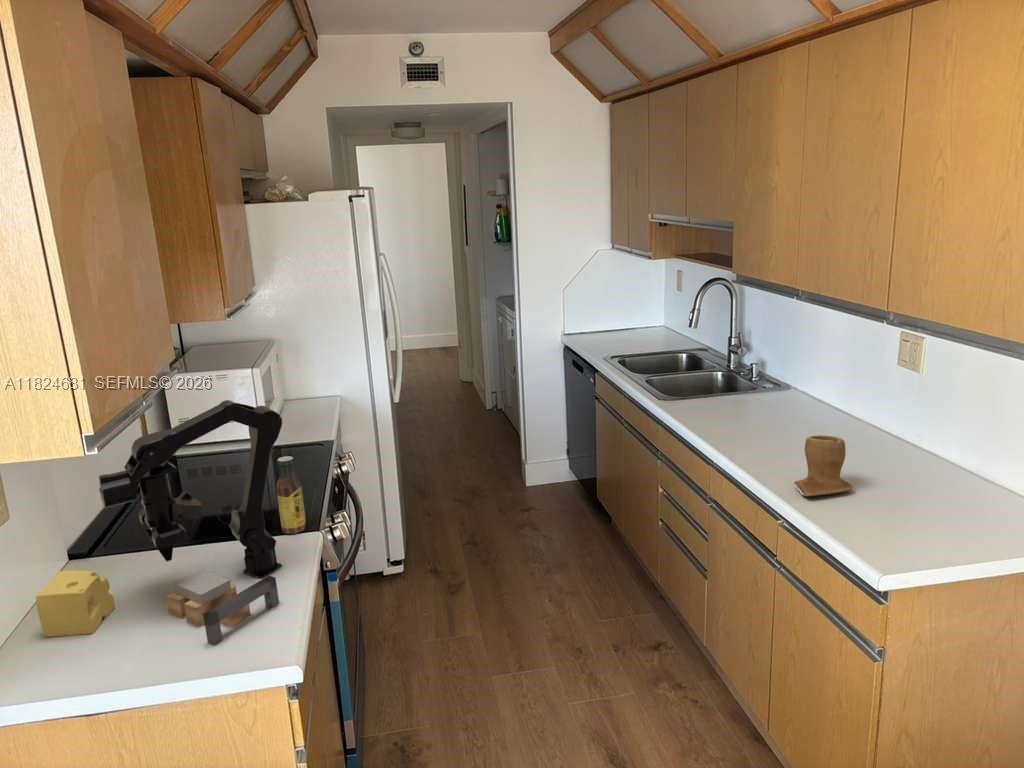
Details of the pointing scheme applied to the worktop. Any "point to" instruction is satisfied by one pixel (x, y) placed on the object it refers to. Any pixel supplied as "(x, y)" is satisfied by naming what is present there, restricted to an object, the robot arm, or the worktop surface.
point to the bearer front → (204, 608)
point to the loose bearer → (237, 617)
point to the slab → (202, 586)
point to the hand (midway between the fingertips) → (168, 560)
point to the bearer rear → (176, 605)
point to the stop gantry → (239, 606)
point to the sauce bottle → (290, 497)
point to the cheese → (74, 603)
